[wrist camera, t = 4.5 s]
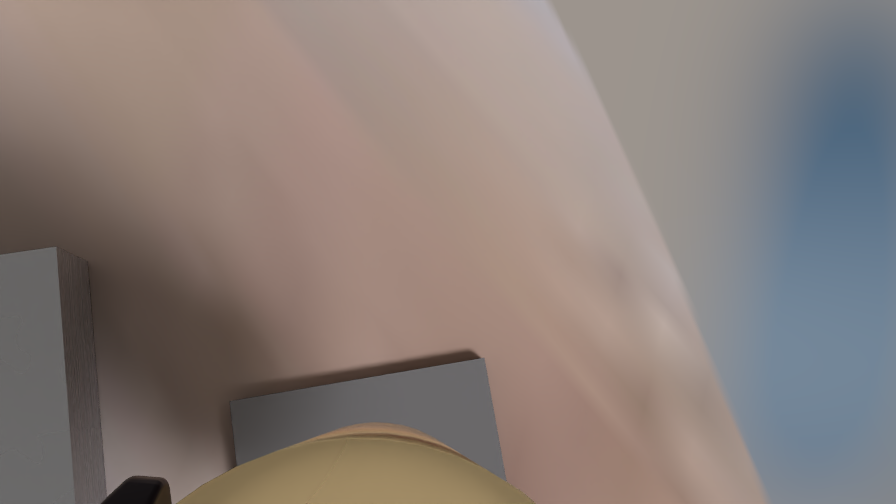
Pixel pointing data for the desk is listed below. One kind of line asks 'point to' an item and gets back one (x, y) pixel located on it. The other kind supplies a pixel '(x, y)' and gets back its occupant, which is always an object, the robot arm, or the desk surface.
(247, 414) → the grey square plate
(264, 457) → the brass knob
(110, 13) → the desk surface
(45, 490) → the plate
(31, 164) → the desk surface
